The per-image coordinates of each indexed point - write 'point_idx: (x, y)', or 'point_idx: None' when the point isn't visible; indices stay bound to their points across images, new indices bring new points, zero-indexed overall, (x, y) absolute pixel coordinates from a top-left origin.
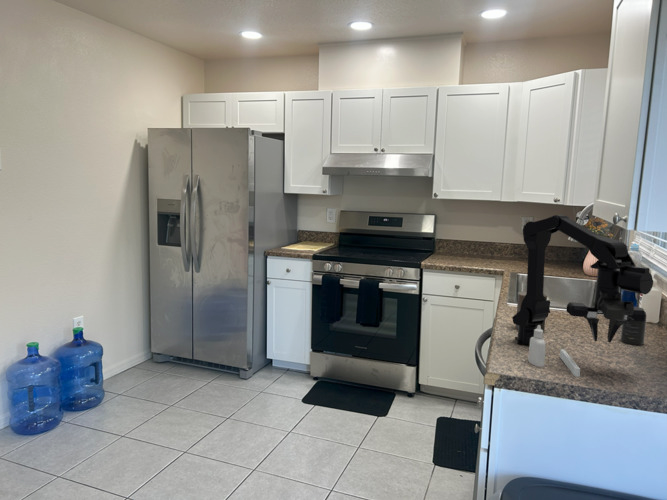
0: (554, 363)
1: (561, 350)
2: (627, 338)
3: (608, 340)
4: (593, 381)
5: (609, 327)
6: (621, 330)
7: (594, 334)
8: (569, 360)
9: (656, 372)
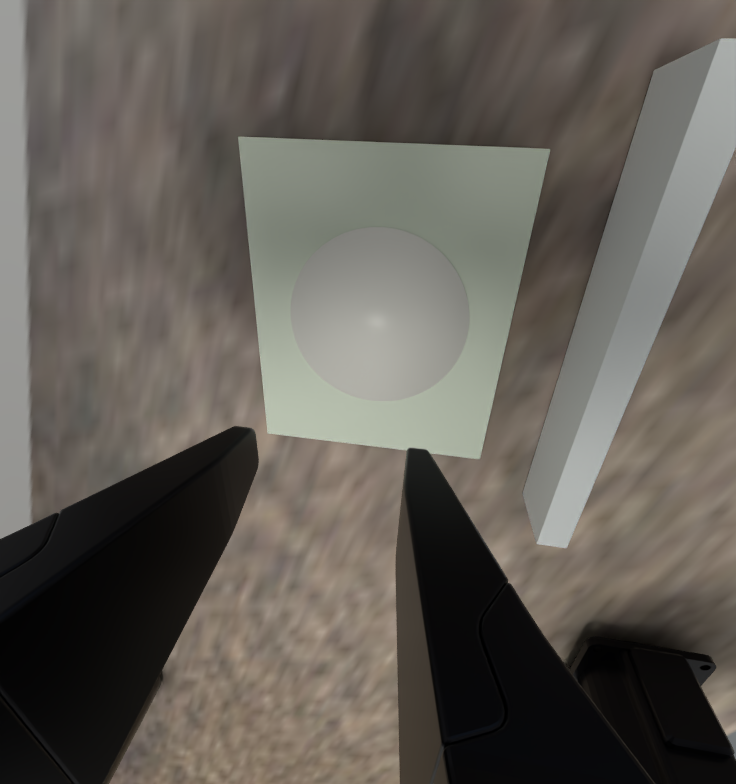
0: (635, 426)
1: (571, 532)
2: None
3: (249, 458)
4: (527, 61)
5: (141, 669)
6: (136, 729)
7: (460, 513)
8: (658, 322)
9: (51, 368)
